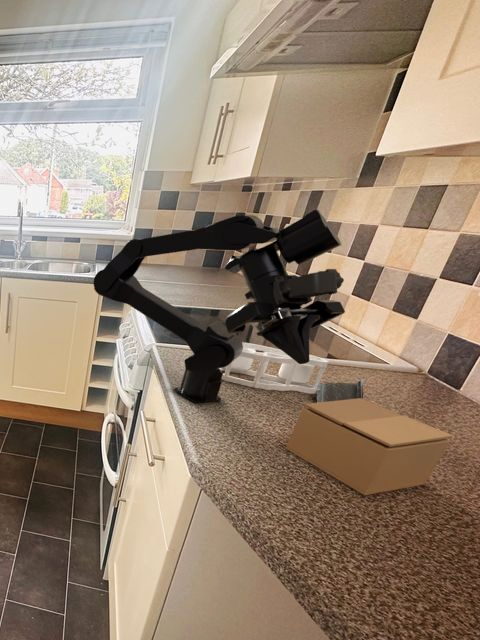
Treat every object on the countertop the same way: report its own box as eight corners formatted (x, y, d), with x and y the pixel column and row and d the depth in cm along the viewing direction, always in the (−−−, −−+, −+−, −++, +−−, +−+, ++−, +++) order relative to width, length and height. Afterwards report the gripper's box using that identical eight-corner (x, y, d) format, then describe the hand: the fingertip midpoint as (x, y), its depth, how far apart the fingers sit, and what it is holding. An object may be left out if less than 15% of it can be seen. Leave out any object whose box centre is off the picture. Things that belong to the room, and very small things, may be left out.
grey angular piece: (316, 389, 92) (316, 361, 84) (360, 390, 88) (364, 361, 80) (315, 429, 89) (314, 404, 81) (360, 432, 84) (364, 405, 76)
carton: (285, 448, 68) (304, 403, 65) (339, 441, 71) (360, 397, 68) (364, 495, 58) (391, 444, 54) (424, 484, 61) (454, 435, 57)
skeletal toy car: (314, 385, 93) (327, 355, 90) (316, 402, 85) (330, 369, 82) (215, 363, 104) (223, 335, 101) (207, 376, 96) (217, 346, 93)
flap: (303, 406, 65) (304, 403, 65) (359, 400, 68) (361, 398, 68) (342, 425, 60) (343, 423, 60) (401, 418, 63) (402, 415, 63)
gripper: (263, 249, 62) (307, 343, 57) (356, 250, 66) (405, 337, 61) (209, 290, 72) (241, 374, 67) (292, 289, 77) (329, 367, 71)
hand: (304, 363), depth 66 cm, fingers closed
